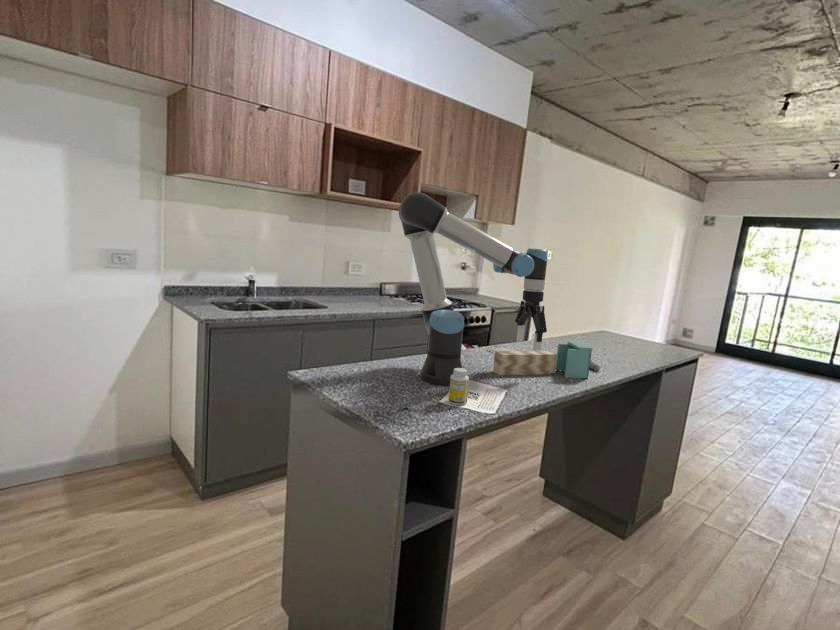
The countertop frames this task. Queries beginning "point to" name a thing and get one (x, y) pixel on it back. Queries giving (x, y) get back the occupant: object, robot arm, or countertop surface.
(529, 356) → the beige zigzag patterned block
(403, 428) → the countertop surface
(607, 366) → the countertop surface
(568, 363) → the end cap
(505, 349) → the baseboard
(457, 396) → the supplement bottle
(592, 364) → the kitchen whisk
